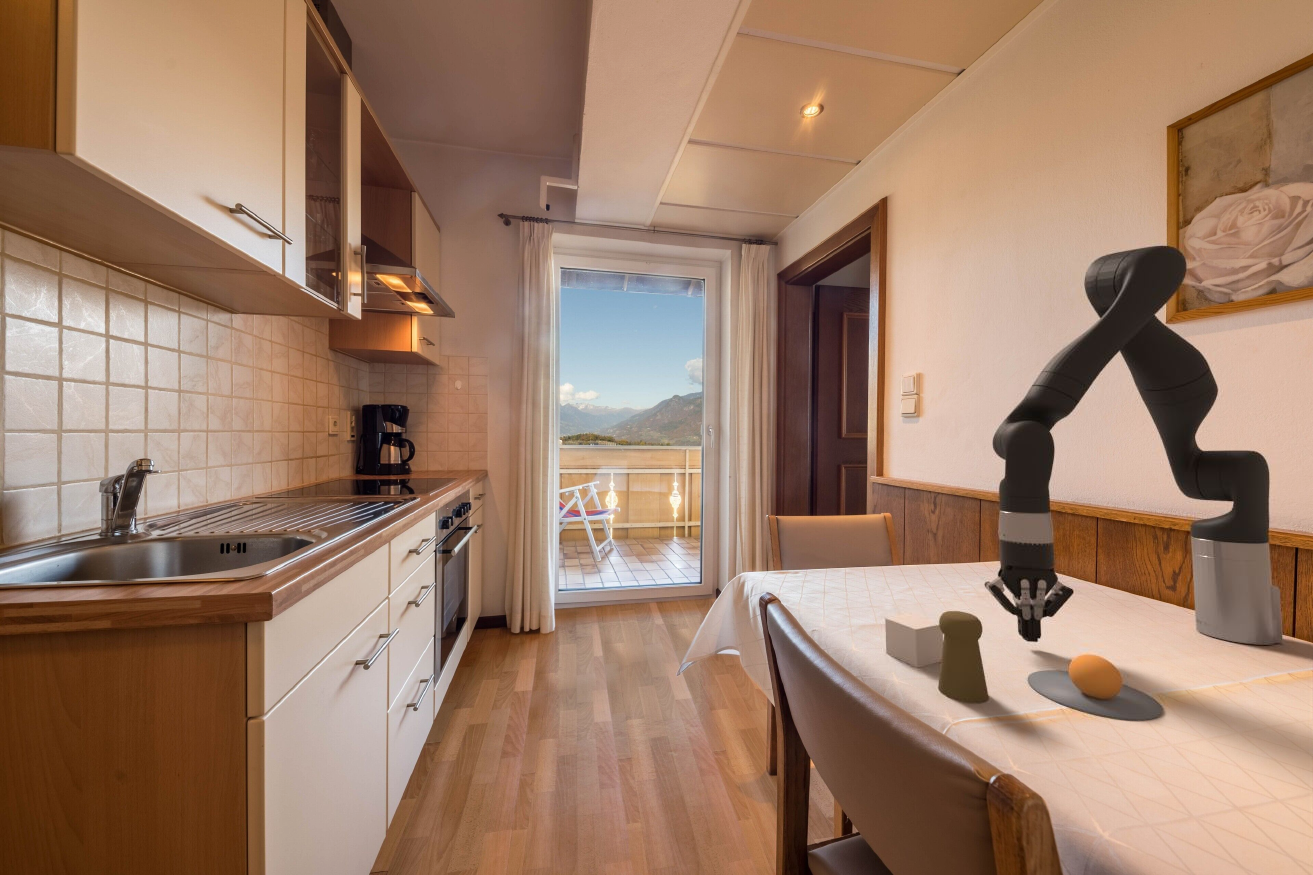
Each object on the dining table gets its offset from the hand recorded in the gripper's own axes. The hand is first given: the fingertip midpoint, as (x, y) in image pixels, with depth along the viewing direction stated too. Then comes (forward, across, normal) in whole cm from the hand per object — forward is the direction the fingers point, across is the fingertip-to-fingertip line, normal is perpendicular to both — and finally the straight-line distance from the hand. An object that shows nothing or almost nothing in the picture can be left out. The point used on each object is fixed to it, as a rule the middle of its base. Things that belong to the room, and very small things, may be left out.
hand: (1030, 639), depth 84 cm
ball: (-1, 0, -17) cm, 17 cm away
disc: (+2, 0, -16) cm, 16 cm away
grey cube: (+2, -20, -7) cm, 21 cm away
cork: (+2, -17, -19) cm, 26 cm away
